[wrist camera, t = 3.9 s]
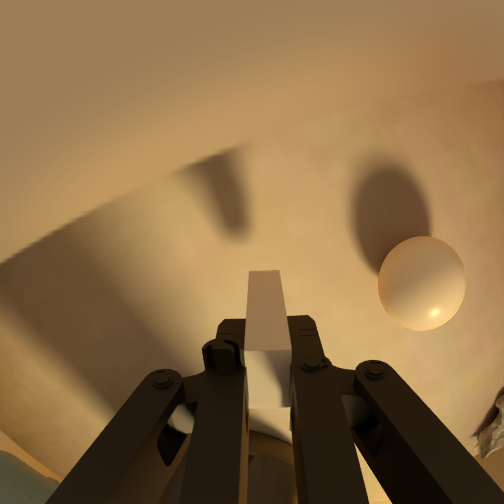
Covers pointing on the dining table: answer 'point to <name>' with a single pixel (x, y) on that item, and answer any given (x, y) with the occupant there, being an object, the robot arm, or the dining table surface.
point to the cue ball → (422, 283)
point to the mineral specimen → (492, 433)
